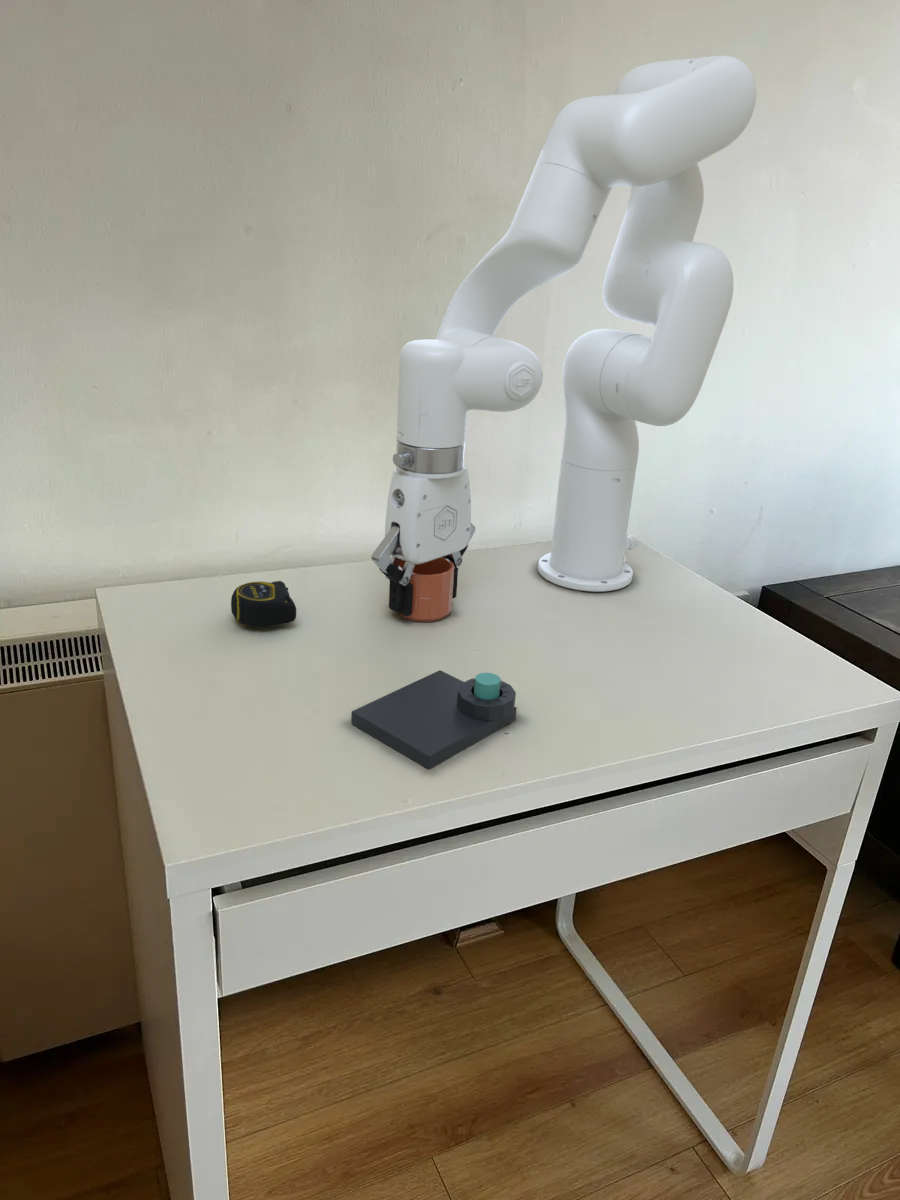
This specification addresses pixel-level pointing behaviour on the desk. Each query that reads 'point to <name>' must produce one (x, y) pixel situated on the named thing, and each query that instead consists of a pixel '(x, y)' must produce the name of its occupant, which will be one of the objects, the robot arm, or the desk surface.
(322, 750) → the desk surface
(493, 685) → the button
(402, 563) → the terracotta cylindrical cup
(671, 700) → the desk surface
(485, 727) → the scale
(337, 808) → the desk surface
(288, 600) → the tape measure
